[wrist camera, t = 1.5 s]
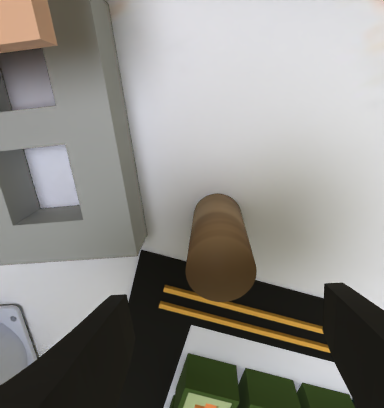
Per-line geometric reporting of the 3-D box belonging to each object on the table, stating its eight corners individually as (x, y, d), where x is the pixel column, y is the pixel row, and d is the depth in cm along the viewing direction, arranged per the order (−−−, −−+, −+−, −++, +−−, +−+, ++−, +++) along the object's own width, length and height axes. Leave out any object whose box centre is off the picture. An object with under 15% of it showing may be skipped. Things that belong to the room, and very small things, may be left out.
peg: (242, 236, 20) (257, 300, 14) (196, 239, 21) (189, 303, 14) (239, 191, 19) (255, 237, 13) (191, 195, 20) (181, 242, 13)
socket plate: (147, 235, 21) (137, 256, 18) (13, 244, 22) (-17, 266, 19) (108, 4, 16) (86, -17, 13) (-59, 28, 17) (-111, 14, 14)
